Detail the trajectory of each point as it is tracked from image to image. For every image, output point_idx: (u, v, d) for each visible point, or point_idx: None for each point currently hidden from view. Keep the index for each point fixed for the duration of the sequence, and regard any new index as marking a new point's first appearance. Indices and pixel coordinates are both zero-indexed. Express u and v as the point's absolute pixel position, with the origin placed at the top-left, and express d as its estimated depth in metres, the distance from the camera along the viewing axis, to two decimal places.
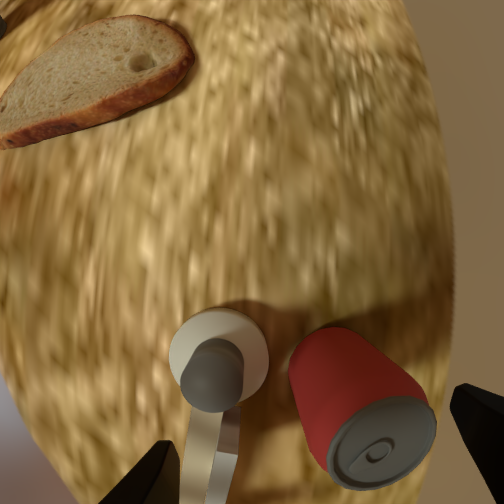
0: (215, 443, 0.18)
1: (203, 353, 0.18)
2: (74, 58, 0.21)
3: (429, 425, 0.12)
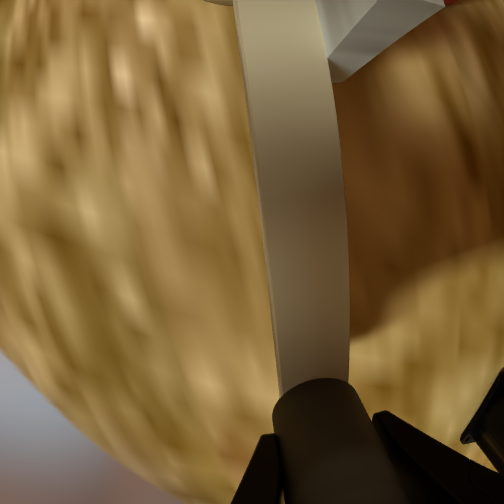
0: None
1: None
2: None
3: None
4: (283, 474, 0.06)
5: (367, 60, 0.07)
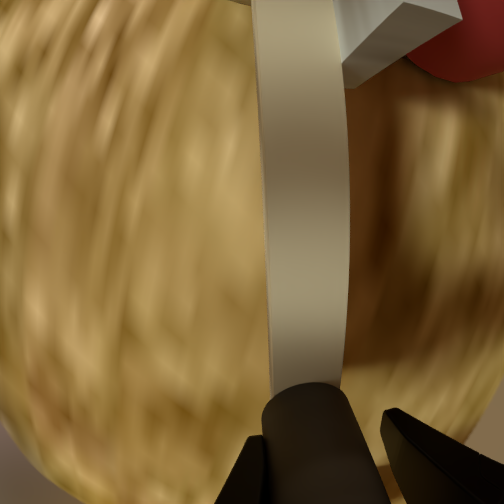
0: None
1: None
2: None
3: None
4: (268, 475, 0.06)
5: (380, 68, 0.07)
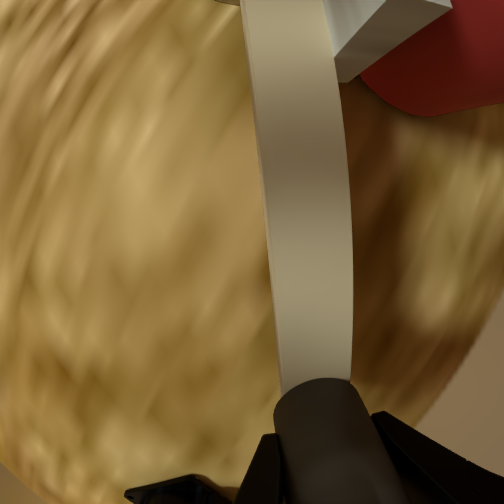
0: None
1: None
2: None
3: None
4: (284, 473, 0.06)
5: (373, 61, 0.07)
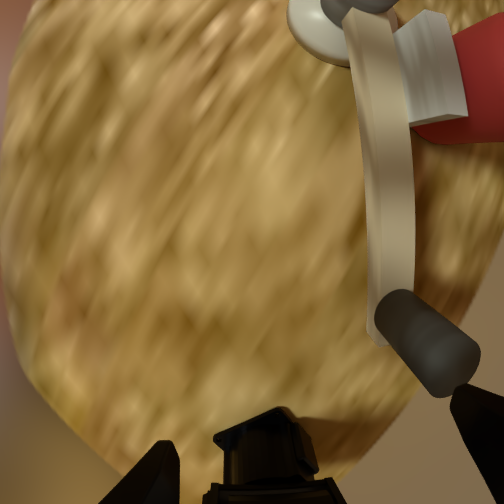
0: (398, 65, 0.13)
1: None
2: None
3: None
4: (396, 332, 0.13)
5: (425, 123, 0.14)
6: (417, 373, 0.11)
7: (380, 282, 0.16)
